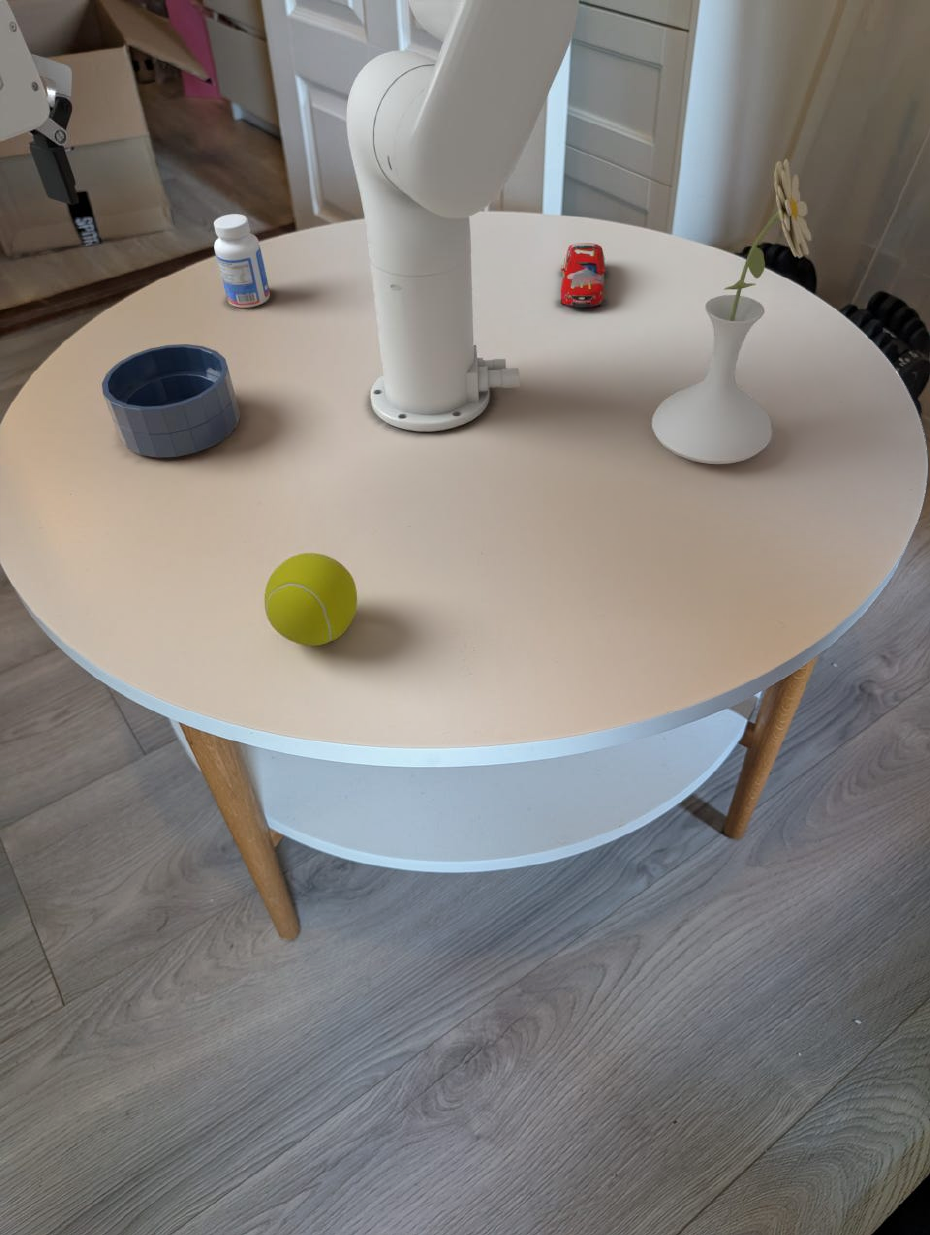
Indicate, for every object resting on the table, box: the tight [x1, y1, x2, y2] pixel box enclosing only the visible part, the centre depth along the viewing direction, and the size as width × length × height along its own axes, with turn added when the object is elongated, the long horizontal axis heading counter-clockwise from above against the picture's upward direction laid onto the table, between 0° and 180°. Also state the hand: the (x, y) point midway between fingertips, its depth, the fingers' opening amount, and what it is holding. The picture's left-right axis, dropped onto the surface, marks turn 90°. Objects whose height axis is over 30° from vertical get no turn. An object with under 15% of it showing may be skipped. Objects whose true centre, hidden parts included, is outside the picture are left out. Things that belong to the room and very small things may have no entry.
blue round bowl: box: [101, 343, 241, 459], centre depth 89 cm, size 12×12×6 cm
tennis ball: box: [264, 552, 358, 647], centre depth 68 cm, size 7×7×7 cm
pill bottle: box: [213, 213, 271, 309], centre depth 107 cm, size 6×5×10 cm
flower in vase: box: [651, 158, 812, 465], centre depth 77 cm, size 13×11×25 cm
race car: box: [560, 242, 607, 308], centre depth 108 cm, size 13×5×4 cm, turn 171°
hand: (10, 223), depth 65 cm, fingers open, 9 cm apart
